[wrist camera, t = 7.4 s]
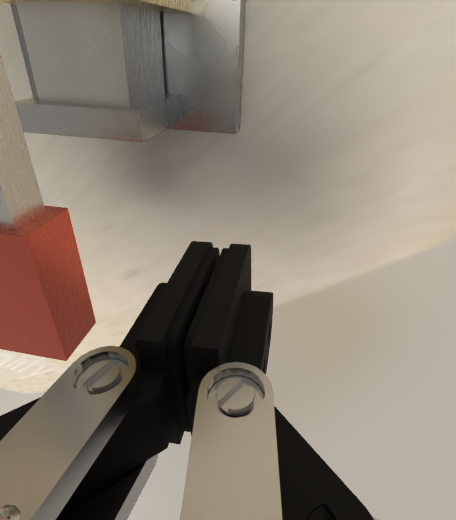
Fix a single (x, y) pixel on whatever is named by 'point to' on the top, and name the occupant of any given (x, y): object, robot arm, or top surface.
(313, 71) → the top surface
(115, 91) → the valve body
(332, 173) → the top surface
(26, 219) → the valve lever
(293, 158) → the top surface
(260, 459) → the robot arm
